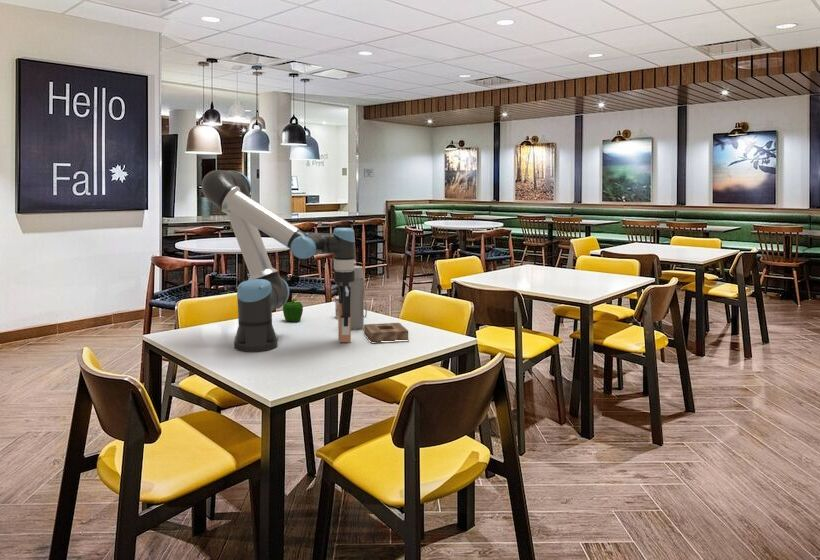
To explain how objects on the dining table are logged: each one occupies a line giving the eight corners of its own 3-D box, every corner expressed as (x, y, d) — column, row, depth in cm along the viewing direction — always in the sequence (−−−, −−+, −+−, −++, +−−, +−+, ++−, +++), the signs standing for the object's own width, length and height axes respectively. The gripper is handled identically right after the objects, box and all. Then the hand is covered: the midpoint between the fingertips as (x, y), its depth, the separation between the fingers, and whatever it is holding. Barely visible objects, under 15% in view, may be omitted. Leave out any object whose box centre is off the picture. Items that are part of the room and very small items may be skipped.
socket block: (371, 343, 228) (371, 332, 227) (364, 334, 241) (364, 324, 241) (408, 341, 231) (408, 330, 231) (399, 332, 245) (399, 322, 244)
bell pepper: (282, 319, 266) (281, 296, 265) (301, 318, 269) (301, 295, 267) (284, 323, 258) (283, 300, 257) (304, 322, 261) (303, 299, 259)
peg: (340, 342, 228) (339, 305, 226) (338, 340, 232) (338, 303, 229) (350, 342, 229) (350, 305, 227) (349, 339, 233) (348, 302, 231)
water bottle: (341, 328, 250) (341, 267, 246) (352, 325, 257) (352, 265, 253) (361, 331, 246) (360, 269, 242) (371, 327, 253) (371, 266, 249)
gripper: (358, 273, 219) (358, 338, 223) (350, 267, 235) (350, 327, 239) (337, 274, 217) (337, 339, 221) (330, 267, 233) (331, 328, 237)
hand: (344, 332), depth 230 cm, fingers closed on peg, 4 cm apart
